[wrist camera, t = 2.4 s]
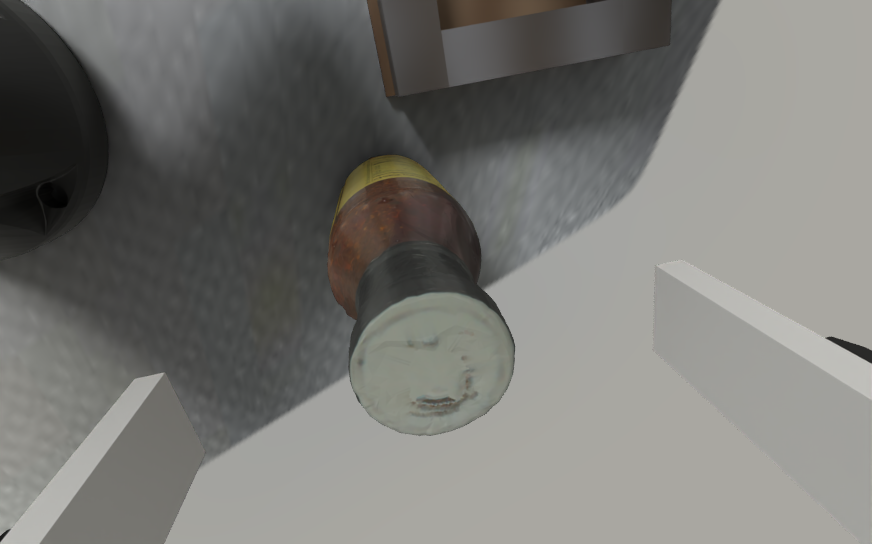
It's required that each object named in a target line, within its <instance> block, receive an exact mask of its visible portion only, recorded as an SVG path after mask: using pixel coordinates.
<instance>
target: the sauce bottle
mask: <svg viewBox="0 0 872 544" xmlns="http://www.w3.org/2000/svg"><path fill="white" fill-rule="evenodd" d="M327 267H328V277H329V281H330V285H331V289H332V292H333V294H334V297H335V299H336V301H337V302H338V304H340V305H341V306H343V308H344V309H345V310H346V313H347V315H348V316H350V317H352V318H353V319H355V320H357V321H356V323H355V325H354V328H353V331H352V334H351V340H350V348H349V366H348V367H349V375H350V382H351V385H352V388H353V391H354V392H355V394H356V397H357V399H358V401H359V403H360V404H361V405H362V406H363V407H364V408H365V410H366V411H367V413H368V414H369V415H370V416H371V417H372V418H374V419H375V420H376V421H378V422H379V423H381V424H382V425H384V426H387V427H389V428H391V429H393V430H395V431H397V432H400V433H405V434H412V435H428V436H431V435H436V434H441V433H445V432H449V431H452V430H455V429H458V428H460V427H463V426H465V425H467V424H469V423H470V422H472V421H474V420H475V419H477V418H479V417H481V416H483V415H485V414H486V413H487V412H488V411H489V410H490V409H491V408H492V407H493V406H494V405H495V404H497V403H498V402H499V401H500V399H501V398H502V396H503V395H504V393H505V391H506V390H507V388H508V386H509V383H510V381H511V377H512V375H513V370H514V359H515V358H514V354H515V344H514V340H513V337H512V334H511V332H510V330H509V327H508V326H507V324H506V322H505V319H504V318H503V316H502V315H501V312H500V310H499V309H498V307H497V305H496V303H495V302H494V301H493V300H492V298H491V297H490V296H489V295H488V294H487V293H486V292H485V291H483V290H482V289H481V288H480V287H479V286H478V285H477V281H478V278H479V274H480V269H481V248H480V243H479V239H478V236H477V233H476V230H475V228H474V226H473V223H472V221H471V220H470V218H469V216H468V215H467V213H466V212H465V211H464V209H463V208H462V207H461V206H460V204H459V203H458V202H457V201H456V200H455V199H454V198H453V197H452V196H451V195H450V194H449V193H448V192H447V191H446V190H445V189H444V187H443V186H442V185H441V184H440V183H439V182H438V181H437V180H436V179H435V178H434V177H433V176H432V175H431V174H430V173H429V172H428V171H427V170H426V169H425V168H424V167H423V166H421V165H420V164H418V163H417V162H415V161H413V160H411V159H409V158H406V157H403V156H400V155H384V156H377V157H372V158H370V159H369V160H367V161H366V162H364V163H362V164H361V165H359V166H358V167H357V168H356V169H355V170H353V172H352V173H351V174H350V175H349V176H348V178H347V179H346V182H345V185H344V187H343V188H342V190H341V193H340V197H339V200H338V204H337V208H336V212H335V216H334V220H333V224H332V228H331V232H330V237H329V252H328V263H327Z"/></svg>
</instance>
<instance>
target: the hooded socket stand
mask: <svg viewBox="0 0 872 544" xmlns="http://www.w3.org/2000/svg"><path fill="white" fill-rule="evenodd" d="M367 4H368V9H369V14H370V19H371V23H372V28H373V33H374V38H375V43H376V48H377V53H378V58H379V63H380V68H381V73H382V78H383V83H384V88H385V93H386V97H389V96H394V95H396V96H399V97H401V96H406V95H411V94H417V93H422V92H427V91H432V90H438V89H443V88H448V87H453V86H459V85H464V84H469V83H474V82H480V81H485V80H490V79H495V78H501V77H506V76H511V75H516V74H522V73H527V72H532V71H537V70H543V69H548V68H553V67H558V66H564V65H569V64H574V63H579V62H585V61H590V60H595V59H600V58H606V57H611V56H616V55H621V54H627V53H632V52H637V51H642V50H648V49H653V48H658V47H663V46H669V45H670V31H671V5H672V0H367Z"/></svg>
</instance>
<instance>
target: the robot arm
mask: <svg viewBox="0 0 872 544" xmlns="http://www.w3.org/2000/svg"><path fill="white" fill-rule="evenodd" d="M107 165H108V140H107V132H106V127H105V122H104V118H103V114H102V111H101V108H100V105H99V102H98V100H97V97H96V95H95V92H94V90H93V88H92V86H91V84H90V82H89V80H88V78H87V76H86V75H85V73H84V71H83V69H82V68H81V66H80V65H79V63H78V62H77V60H76V59H75V57H74V56H73V54H72V53H71V52H70V50H69V49H68V48H67V46H66V45H65V44H64V43H63V42H62V40H61V39H60V38H59V37H58V36H57V35H56V33H55V32H54V31H53V30H52V29H51V28H50V27H49V26H48V25H47V24H46V23H45V22H44V21H43V20H42V19H41V18H40V17H39V16H38V15H37V14H35V13H34V12H33V11H32V10H31V9H30V8H29V7H27V6H26V5H25V4H24V3H22V2H21V1H20V0H0V260H2V259H6V258H10V257H14V256H17V255H20V254H23V253H26V252H28V251H31V250H33V249H35V248H37V247H39V246H41V245H43V244H45V243H48V242H50V241H52V240H54V239H56V238H58V237H60V236H61V235H63V234H65V233H66V232H68V231H69V230H71V229H72V228H73V227H75V226H76V225H77V224H78V223H79V222H80V221H81V220H82V219H83V218H84V217H85V216H86V215H87V214H88V212H89V211H90V210H91V208H92V207H93V205H94V204H95V202H96V200H97V198H98V196H99V194H100V192H101V189H102V187H103V184H104V180H105V176H106V171H107ZM654 290H655V291H654V325H653V351H654V352H655V353H656V354H657V355H658V356H660V357H661V358H662V359H663V360H664V361H665V362H666V363H667V364H668V365H669V366H670V367H671V368H672V369H674V370H675V371H676V372H677V373H678V374H679V375H680V376H681V377H682V378H683V379H684V380H685V381H687V382H688V383H689V384H690V385H691V386H692V387H693V388H694V389H695V390H696V391H697V392H698V393H700V395H701V396H703V397H704V398H705V399H706V400H707V401H708V402H709V403H710V404H711V405H712V406H713V407H714V408H715V409H717V410H718V411H719V412H720V413H721V414H722V415H723V416H724V417H725V418H726V419H728V421H729V422H731V423H732V424H733V425H734V426H735V427H736V428H737V429H738V430H739V431H740V432H741V433H742V434H743V435H744V436H745V437H747V438H748V439H749V440H750V441H751V442H752V443H753V444H754V445H755V446H756V447H757V448H758V449H759V450H761V451H762V452H763V453H764V454H765V455H766V456H767V457H768V458H769V459H770V460H771V461H772V462H773V463H774V464H776V465H777V466H778V467H779V468H780V469H781V470H782V471H783V472H784V473H785V474H786V475H788V476H789V477H790V478H791V479H792V480H793V481H794V482H795V483H796V484H797V485H798V486H799V487H800V488H801V489H802V490H804V491H805V492H806V493H807V494H808V495H809V496H810V497H811V498H812V499H813V500H814V501H815V502H816V503H817V504H819V505H820V506H821V507H822V508H823V509H824V510H825V511H826V512H827V513H828V514H829V515H830V516H832V517H833V518H834V519H835V520H836V521H837V522H838V523H839V524H840V525H841V526H842V527H843V528H844V529H845V530H846V531H848V532H849V533H850V534H851V535H852V536H853V537H854V538H855V539H856V540H857V541H858V542H859V543H861V544H872V351H871V350H869V349H867V348H865V347H862V346H859V345H856V344H853V343H850V342H847V341H844V340H841V339H837V338H834V337H827V338H824V337H822V336H820V335H818V334H817V333H815V332H813V331H811V330H809V329H807V328H805V327H804V326H802V325H800V324H798V323H797V322H795V321H793V320H791V319H789V318H787V317H786V316H784V315H782V314H780V313H778V312H777V311H775V310H773V309H771V308H769V307H767V306H766V305H764V304H762V303H760V302H758V301H757V300H755V299H753V298H751V297H749V296H747V295H746V294H744V293H742V292H740V291H738V290H737V289H735V288H733V287H731V286H729V285H727V284H726V283H724V282H722V281H720V280H718V279H716V278H714V277H713V276H711V275H709V274H707V273H705V272H704V271H702V270H700V269H698V268H696V267H695V266H693V265H691V264H689V263H687V262H686V261H684V260H677V261H672V262H668V263H664V264H659V265H655V287H654ZM205 453H206V452H205V450H204V448H203V446H202V444H201V442H200V440H199V438H198V436H197V434H196V432H195V430H194V428H193V426H192V424H191V422H190V420H189V418H188V416H187V414H186V412H185V410H184V408H183V406H182V404H181V403H180V401H179V399H178V397H177V395H176V393H175V391H174V389H173V387H172V385H171V383H170V381H169V379H168V377H167V375H166V373H165V372H164V373H159V374H155V375H150V376H146V377H141V378H136V379H134V380H133V382H132V383H131V384H130V385H129V386H128V388H127V389H126V390H125V391H124V392H123V394H122V395H121V396H120V397H119V399H118V400H117V401H116V402H115V403H114V405H113V406H112V407H111V408H110V409H109V411H108V412H107V413H106V414H105V416H104V417H103V418H102V419H101V420H100V422H99V423H98V424H97V425H96V427H95V428H94V429H93V430H92V431H91V433H90V434H89V435H88V436H87V437H86V439H85V440H84V441H83V442H82V444H81V445H80V446H79V447H78V448H77V450H76V451H75V452H74V453H73V455H72V456H71V457H70V458H69V459H68V461H67V462H66V463H65V464H64V465H63V467H62V468H61V469H60V470H59V472H58V473H57V474H56V475H55V476H54V478H53V479H52V480H51V481H50V482H49V484H48V485H47V486H46V487H45V489H44V490H43V491H42V492H41V493H40V495H39V496H38V497H37V498H36V500H35V501H34V502H33V503H32V504H31V506H30V507H29V508H28V509H27V510H26V512H25V513H24V514H23V515H22V517H21V518H20V519H19V520H18V521H17V523H16V524H15V525H14V526H13V528H12V529H9V530H7V531H6V532H4V533H3V534H2V535H1V536H0V544H164V543H165V540H166V538H167V536H168V534H169V532H170V529H171V527H172V525H173V523H174V521H175V518H176V516H177V514H178V512H179V510H180V507H181V505H182V503H183V501H184V499H185V497H186V494H187V493H188V490H189V488H190V486H191V484H192V482H193V479H194V477H195V475H196V473H197V471H198V469H199V466H200V464H201V462H202V460H203V458H204V455H205Z"/></svg>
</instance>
